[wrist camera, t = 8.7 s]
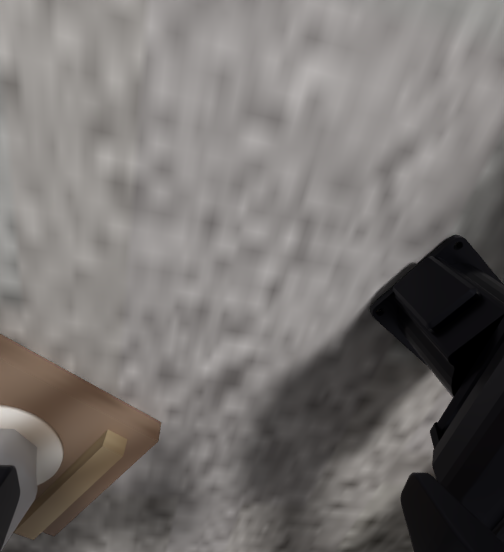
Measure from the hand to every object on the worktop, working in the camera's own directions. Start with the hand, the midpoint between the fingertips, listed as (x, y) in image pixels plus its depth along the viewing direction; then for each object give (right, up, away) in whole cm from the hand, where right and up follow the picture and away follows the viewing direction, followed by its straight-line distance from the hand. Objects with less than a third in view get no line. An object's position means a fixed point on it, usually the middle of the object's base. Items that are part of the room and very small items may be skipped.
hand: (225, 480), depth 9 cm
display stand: (-15, -5, +15) cm, 22 cm away
